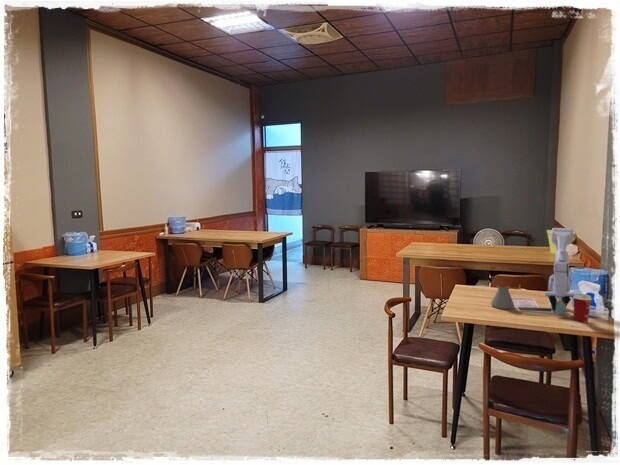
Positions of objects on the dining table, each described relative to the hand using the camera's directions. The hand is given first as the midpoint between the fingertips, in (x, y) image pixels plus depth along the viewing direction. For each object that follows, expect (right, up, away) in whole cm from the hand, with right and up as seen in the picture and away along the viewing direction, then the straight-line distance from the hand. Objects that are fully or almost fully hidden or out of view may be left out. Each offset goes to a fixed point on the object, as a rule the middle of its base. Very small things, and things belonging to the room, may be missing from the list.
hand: (558, 310), depth 220 cm
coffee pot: (-23, -1, +17) cm, 29 cm away
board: (-6, -3, +1) cm, 7 cm away
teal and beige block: (0, -1, 0) cm, 1 cm away
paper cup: (+4, -4, -11) cm, 13 cm away
